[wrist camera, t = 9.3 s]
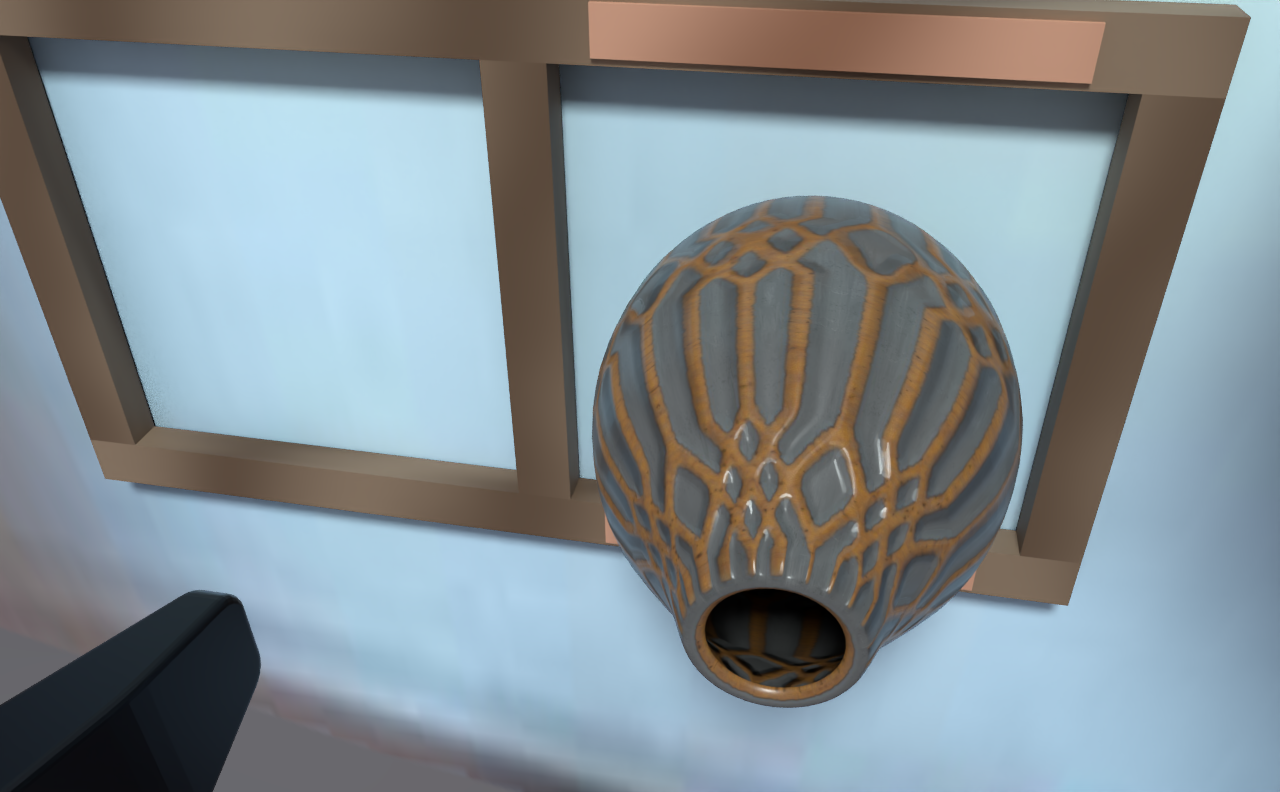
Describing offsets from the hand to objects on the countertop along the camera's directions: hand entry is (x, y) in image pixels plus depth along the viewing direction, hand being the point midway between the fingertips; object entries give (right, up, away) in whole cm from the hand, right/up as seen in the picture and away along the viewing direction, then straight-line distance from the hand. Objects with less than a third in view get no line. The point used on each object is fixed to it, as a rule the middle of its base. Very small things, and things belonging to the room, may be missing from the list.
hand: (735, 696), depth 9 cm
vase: (+3, +4, +12) cm, 13 cm away
